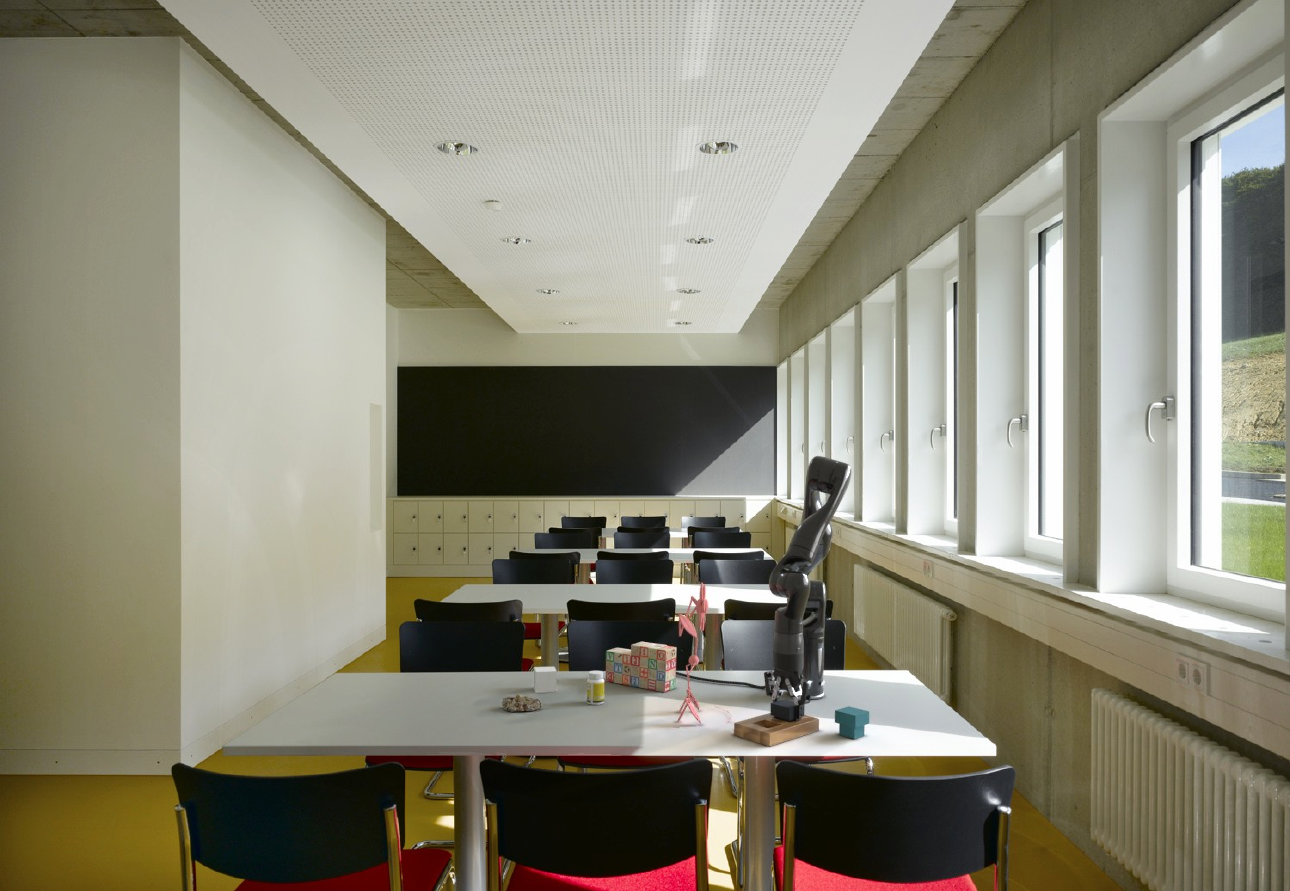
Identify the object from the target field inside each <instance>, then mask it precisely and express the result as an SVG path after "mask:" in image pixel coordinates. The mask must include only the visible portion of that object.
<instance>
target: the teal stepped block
mask: <svg viewBox="0 0 1290 891" xmlns="http://www.w3.org/2000/svg"><path fill="white" fill-rule="evenodd" d="M834 723H835V724H839V726H838V735H839V736H842V737H844V738H849V739H853V740H856V739H859V738H862V737H865V726H866V725H869V724H870V711H868V710H866V709H861V708H858V707H854V706H849V705H848V706H845V707H841V708H838V709H836V710H834Z"/></svg>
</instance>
